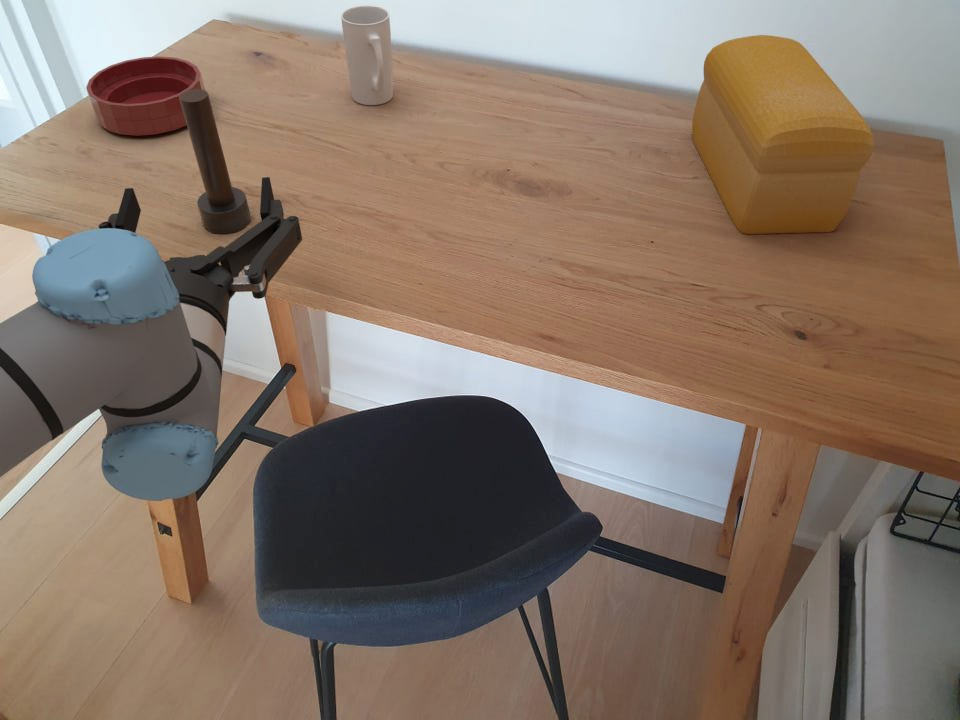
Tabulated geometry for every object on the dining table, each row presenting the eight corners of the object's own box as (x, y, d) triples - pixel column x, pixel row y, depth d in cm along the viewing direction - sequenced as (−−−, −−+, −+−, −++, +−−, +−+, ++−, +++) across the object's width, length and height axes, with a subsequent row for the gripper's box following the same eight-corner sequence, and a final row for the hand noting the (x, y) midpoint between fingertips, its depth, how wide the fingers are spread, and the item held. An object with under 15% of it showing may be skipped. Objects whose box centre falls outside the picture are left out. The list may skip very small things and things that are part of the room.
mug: (345, 89, 117) (335, 9, 108) (387, 82, 119) (381, 2, 110) (362, 120, 110) (354, 36, 102) (407, 112, 112) (402, 29, 104)
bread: (841, 232, 92) (890, 117, 82) (736, 235, 92) (772, 119, 81) (775, 131, 109) (808, 25, 99) (686, 133, 109) (710, 26, 98)
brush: (201, 236, 90) (163, 109, 79) (205, 209, 94) (169, 85, 83) (249, 232, 91) (218, 105, 80) (251, 205, 95) (222, 81, 84)
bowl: (90, 143, 105) (76, 109, 101) (108, 92, 116) (97, 59, 112) (204, 135, 107) (195, 101, 103) (212, 85, 117) (204, 53, 114)
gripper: (41, 379, 66) (88, 234, 81) (333, 347, 69) (327, 213, 84) (3, 314, 61) (61, 171, 75) (322, 283, 64) (317, 152, 78)
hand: (201, 193), depth 79 cm, fingers open, 13 cm apart
